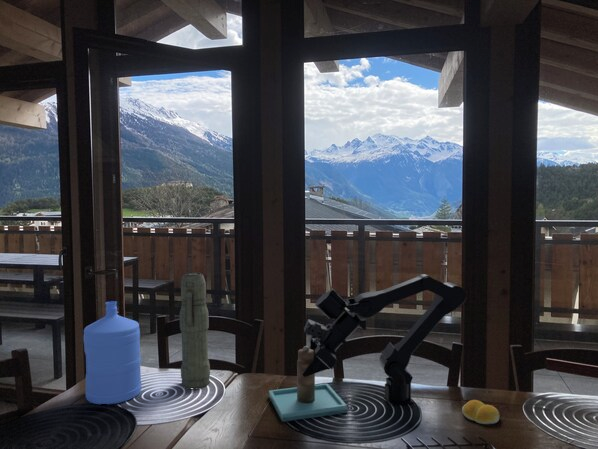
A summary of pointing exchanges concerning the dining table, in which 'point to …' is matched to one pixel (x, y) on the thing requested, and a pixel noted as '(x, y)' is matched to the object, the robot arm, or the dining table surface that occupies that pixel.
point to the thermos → (194, 332)
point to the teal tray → (294, 410)
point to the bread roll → (480, 412)
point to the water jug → (112, 358)
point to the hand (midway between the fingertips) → (302, 369)
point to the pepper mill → (305, 383)
